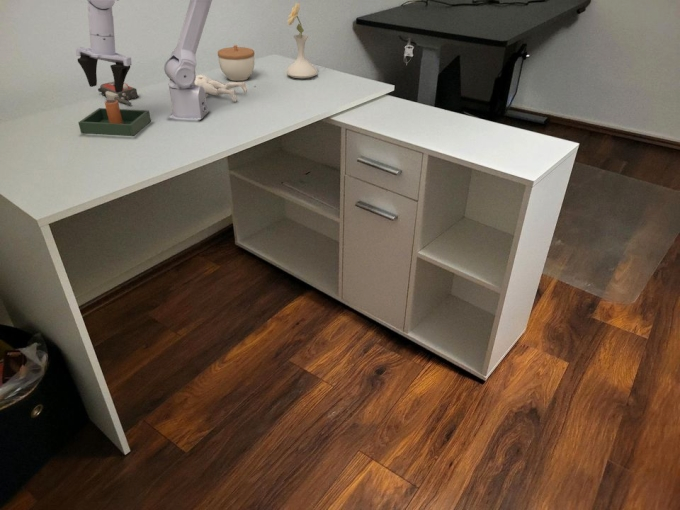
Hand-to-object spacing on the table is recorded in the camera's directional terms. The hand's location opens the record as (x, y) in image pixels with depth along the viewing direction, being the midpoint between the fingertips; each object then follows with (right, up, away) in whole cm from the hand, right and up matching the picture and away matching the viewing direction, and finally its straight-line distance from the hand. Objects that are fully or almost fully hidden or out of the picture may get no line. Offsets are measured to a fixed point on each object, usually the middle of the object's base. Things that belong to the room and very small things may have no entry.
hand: (106, 88), depth 138 cm
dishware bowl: (+26, +19, +47) cm, 57 cm away
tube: (+1, -9, +5) cm, 10 cm away
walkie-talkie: (-7, +5, +27) cm, 28 cm away
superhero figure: (+19, +8, +32) cm, 38 cm away
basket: (+1, -9, +5) cm, 11 cm away
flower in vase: (+48, +20, +50) cm, 72 cm away
